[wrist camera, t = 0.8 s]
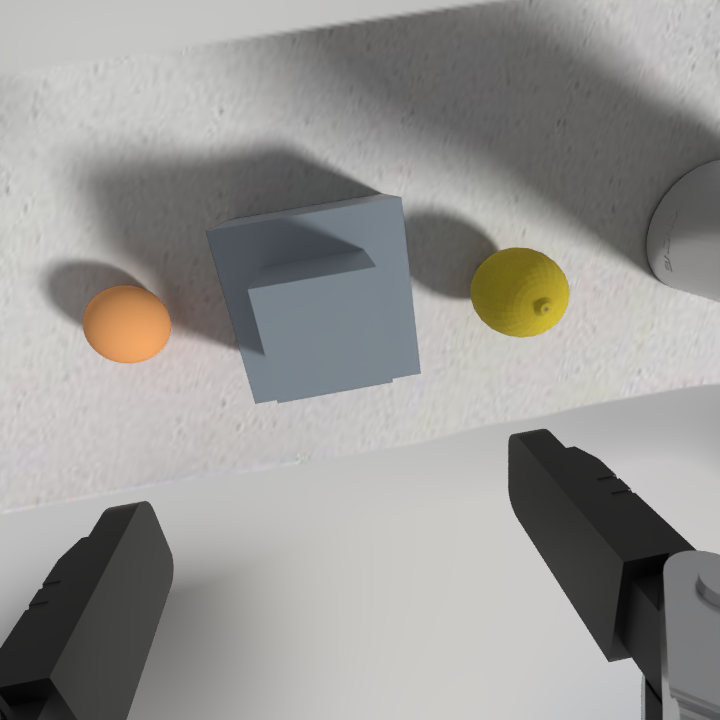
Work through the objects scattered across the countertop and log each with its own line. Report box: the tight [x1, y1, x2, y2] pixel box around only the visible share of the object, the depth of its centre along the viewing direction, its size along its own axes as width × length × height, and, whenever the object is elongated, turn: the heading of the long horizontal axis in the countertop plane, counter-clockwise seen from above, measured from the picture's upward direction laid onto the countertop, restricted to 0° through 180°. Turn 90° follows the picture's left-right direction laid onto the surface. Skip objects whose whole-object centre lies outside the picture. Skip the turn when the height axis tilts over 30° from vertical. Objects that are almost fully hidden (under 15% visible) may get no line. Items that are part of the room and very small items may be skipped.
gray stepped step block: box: [206, 193, 421, 404], centre depth 25 cm, size 10×10×12 cm
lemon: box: [471, 248, 569, 337], centre depth 28 cm, size 6×6×8 cm
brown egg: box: [83, 285, 171, 363], centre depth 28 cm, size 5×5×5 cm
